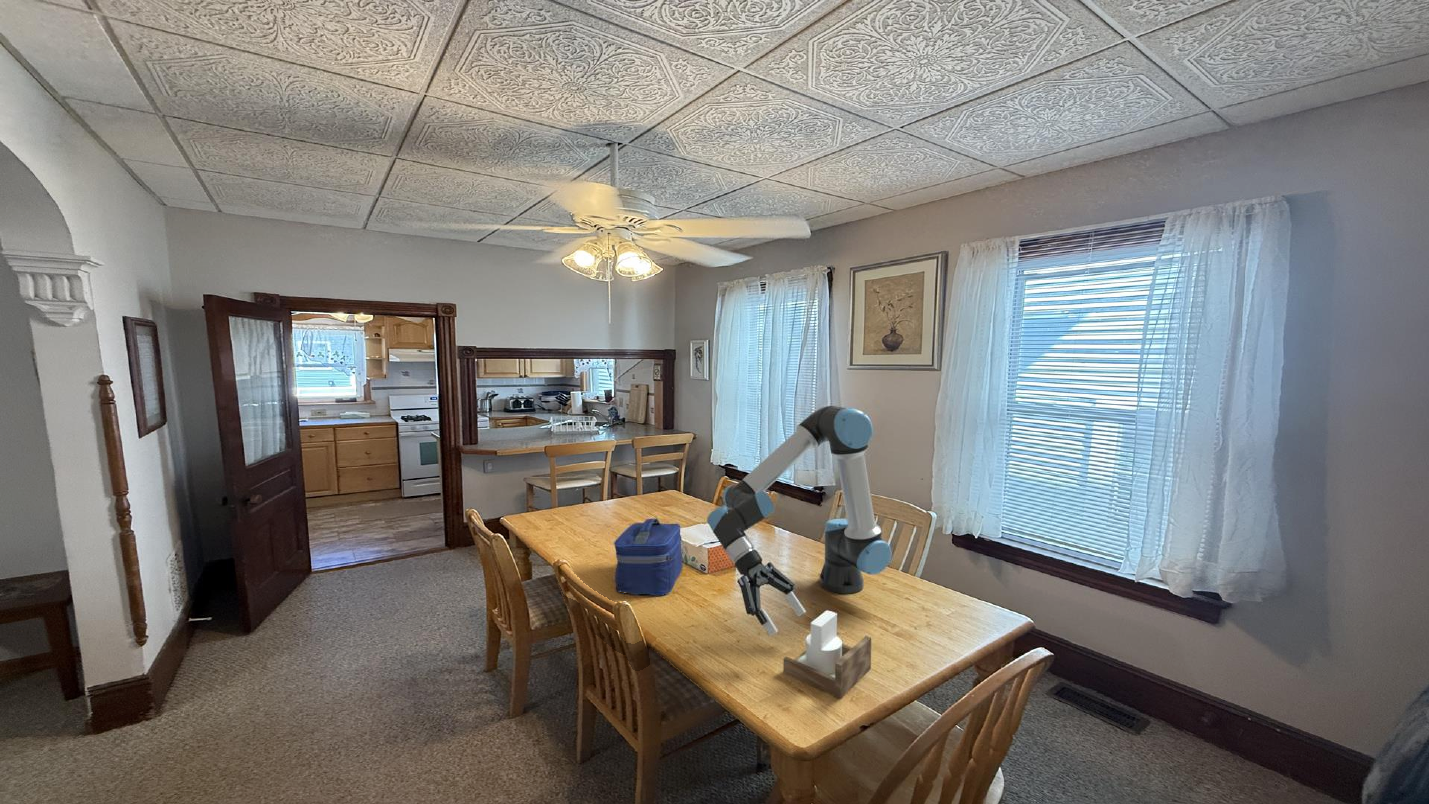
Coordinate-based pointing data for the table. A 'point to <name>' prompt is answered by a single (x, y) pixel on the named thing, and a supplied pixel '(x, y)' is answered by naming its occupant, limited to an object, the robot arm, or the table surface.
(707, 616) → the table surface
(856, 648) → the walnut rest
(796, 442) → the robot arm
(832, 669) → the base with upright slab
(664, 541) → the lunch bag
